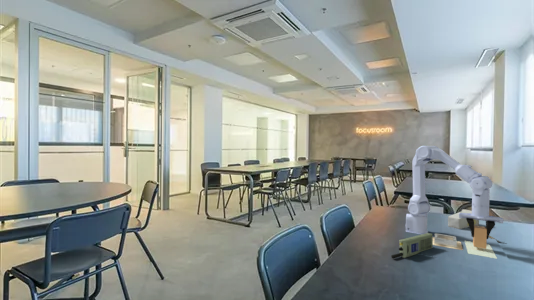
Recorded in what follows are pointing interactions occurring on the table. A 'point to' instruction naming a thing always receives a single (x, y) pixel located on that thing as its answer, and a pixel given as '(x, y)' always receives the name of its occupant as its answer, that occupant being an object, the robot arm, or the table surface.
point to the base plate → (449, 246)
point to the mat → (480, 250)
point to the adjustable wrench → (496, 240)
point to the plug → (480, 237)
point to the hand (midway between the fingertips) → (479, 237)
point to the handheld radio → (414, 245)
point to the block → (460, 220)
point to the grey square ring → (445, 240)
